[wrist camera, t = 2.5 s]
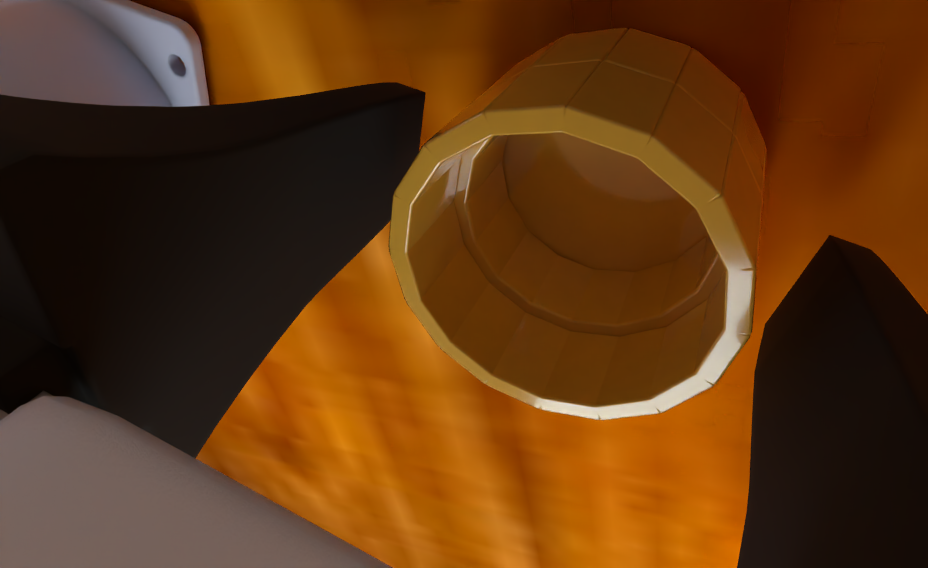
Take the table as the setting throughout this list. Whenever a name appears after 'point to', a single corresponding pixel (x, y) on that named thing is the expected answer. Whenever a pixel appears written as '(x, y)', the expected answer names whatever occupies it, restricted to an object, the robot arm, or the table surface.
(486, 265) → the bowl
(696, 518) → the table surface
